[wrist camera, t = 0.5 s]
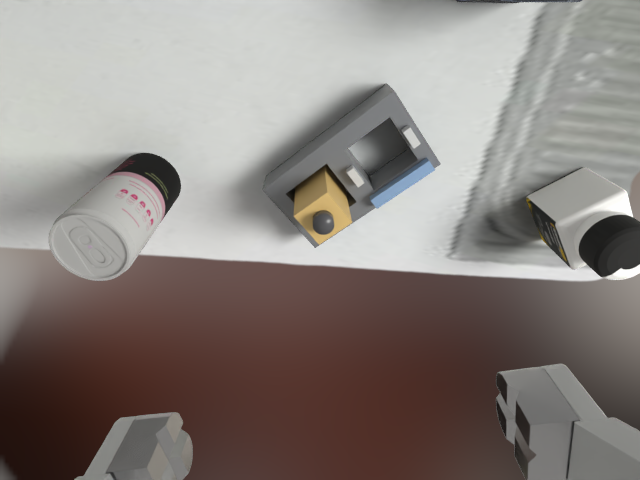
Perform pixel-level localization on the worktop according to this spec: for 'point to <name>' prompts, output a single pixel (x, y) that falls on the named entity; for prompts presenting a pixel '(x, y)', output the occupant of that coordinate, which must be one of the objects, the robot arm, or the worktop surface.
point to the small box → (517, 1)
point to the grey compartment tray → (341, 161)
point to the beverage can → (115, 218)
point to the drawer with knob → (322, 205)
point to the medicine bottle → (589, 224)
